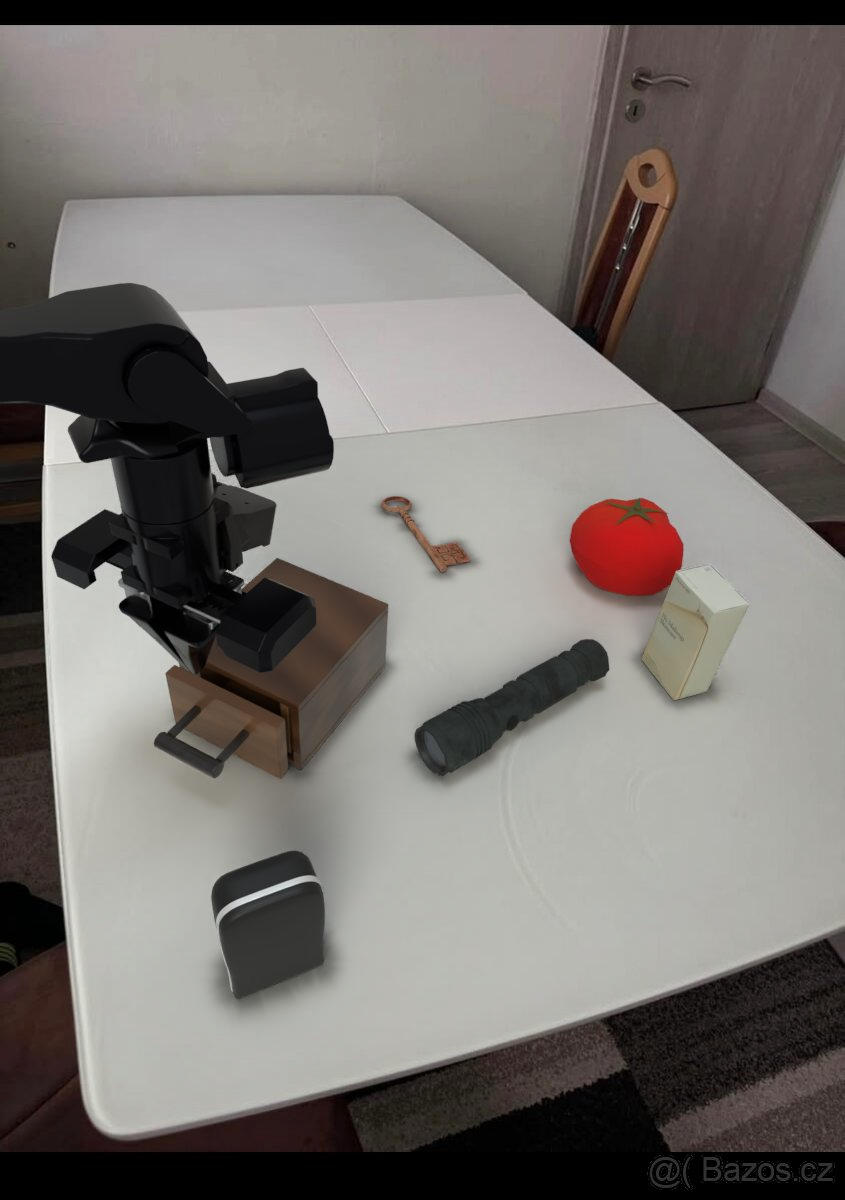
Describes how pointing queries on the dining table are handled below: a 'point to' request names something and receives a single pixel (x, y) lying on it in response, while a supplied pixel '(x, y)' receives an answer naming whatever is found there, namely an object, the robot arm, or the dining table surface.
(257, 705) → the drawer
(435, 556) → the key
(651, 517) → the tomato
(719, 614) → the cosmetic box
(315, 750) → the cabinet
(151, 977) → the dining table surface
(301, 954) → the battery charger
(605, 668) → the flashlight
